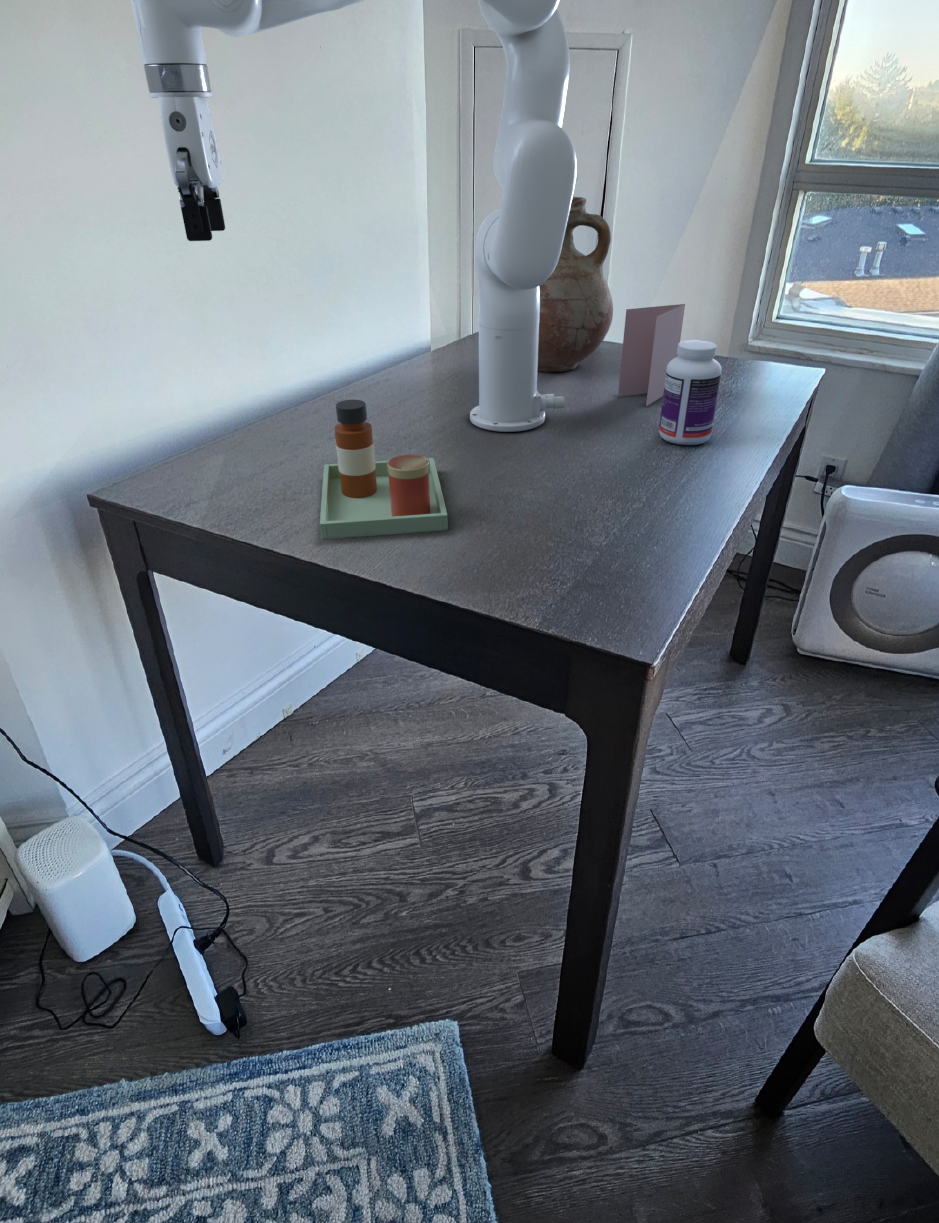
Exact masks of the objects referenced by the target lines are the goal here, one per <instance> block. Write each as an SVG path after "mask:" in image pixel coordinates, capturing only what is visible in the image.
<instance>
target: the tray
mask: <svg viewBox="0 0 939 1223" xmlns="http://www.w3.org/2000/svg"><path fill="white" fill-rule="evenodd" d="M426 458H427V459H428V461H429V491H430V514H422V515H407V516H393V517H392V514H391V501H390V488H389V475H388V467H387V462H388V461H389V460H375V466H376V468H375V471H376V482H377V491H376V493H375V494H373V495H371V496H368V497H364V498H350V497H347V496H345V495H343V494H342V490H341V481H340V473H339V467H338V463H327V464H323V471H322V474H323V475H322V487H321V488H322V489H321V502H320V515H319V516H320V517H319V530H320V536H321V540H327V539H329V540H330V539H342V538H354V537H355V538H356V537H369V536H370V537H371V536H383V535H385V536H386V535H398V534H410V533H426V532H439V531H448V530H449V524H448V520H449V519H448V518H449V517H448V512H447V507H446V504H445V499H444V495H443V491H442V487H441V483H440V478H439V474H438V471H437V470H438V469H437V467H436V466H437V465H436V462H435V458H434V457H426Z"/></svg>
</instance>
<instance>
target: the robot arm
mask: <svg viewBox="0 0 939 1223" xmlns="http://www.w3.org/2000/svg"><path fill="white" fill-rule="evenodd" d="M129 1H130V5H131V10H132V16H133V20H134V25H135V30H136V34H137V39H138V43H139V49H140V53H141V59H142V64H143V69H144V74H145V80H146V84H147V88H148V92H149V94H148V95H149V98H150V99H158V105H159V113H160V120H161V126H162V132H163V138H164V143H165V149H166V155H167V159H168V164H169V168H170V172H171V176H172V181H173V183H174V185H175V186H176V187H177V190H178V198H179V204H180V210H181V216H182V220H183V225H184V230H185V235H186V240H187V241H188V242H208V241H209V242H210V241H212V240H213V232H223V231H225V230H226V224H225V218H224V211H223V207H222V200H221V198H220V192H219V188H218V186H220V185H221V184H223V182H224V180H225V177H224V170H223V166H222V162H221V161H222V160H221V156H220V152H219V147H218V141H217V136H216V132H215V127H214V122H213V118H212V114H211V111H210V107H209V103H208V100H207V98H213V92H212V85H211V80H210V73H209V68H208V62H207V56H206V55H207V54H206V49H205V43H204V38H203V31H202V28H211V29H216V30H218V31H220V32H221V33H223V34H225V35H227V36H229V37H235V38H239V37H246V36H250V35H253V34H257V33H261V32H264V31H267V30H270V29H274V28H277V27H280V26H283V25H286V24H289V23H293V22H297V21H299V20H302V19H305V18H308V17H311V16H315V15H318V14H322V13H328V12H332V11H333V12H334V11H336V10H341V9H343V8H346V7H348V6H352V5H355V4H358V3H362V2H364V1H366V0H129ZM560 1H561V0H477V3H478V4H477V5H478V8H479V11H480V14H481V15H482V18H483V20H484V21H485V23H486V24H487V26H488V27H489V28H490V29H491V30H492V31H493V32H494V33H495V34H496V36H497V37H498V39H499V41H500V43H501V45H502V49H503V52H504V58H505V67H506V68H505V69H506V70H505V81H504V91H503V92H504V93H503V100H502V106H501V113H500V119H499V123H498V124H499V125H498V131H497V137H496V141H495V146H494V152H493V158H492V168H493V174H494V177H495V180H496V182H497V184H498V185H499V187H500V188H501V189H502V190H503V192H502V198H501V205H500V208H497V209H496V210H493V211H492V212H490V213H489V214H488V215H487V216H486V217H485V218H484V220H482V222H481V224H480V226H479V228H478V230H477V233H476V238H475V246H474V256H475V257H474V258H475V259H474V260H475V268H476V281H477V294H478V296H477V299H478V405H477V406H475V407H473V408H472V409H471V410H470V412H469V420H470V423H471V424H473V426H475V427H478V428H479V429H482V430H486V431H491V432H500V433H502V432H503V433H514V432H516V433H517V432H524V431H528V430H533V429H535V428H537V427H540V426H541V425H542V424H544V423H545V420H546V411H547V410H548V409H553V410H556V409H557V410H558V409H565V406H566V400H565V396H564V395H563V396H555V394H554V393H545V394H540V392H539V391H538V370H537V367H538V340H539V319H540V292H539V286H540V285H541V284H543V283H544V282H545V281H546V280H547V279H548V278H549V277H550V276H551V274H552V273H553V271H554V269H555V267H556V265H557V262H558V260H559V256H560V253H561V249H562V245H563V240H564V235H565V230H566V226H567V221H568V216H569V211H570V206H571V202H572V197H574V193H575V192H574V191H575V186H576V180H577V173H578V172H577V169H578V168H577V166H578V165H577V164H578V163H577V153H576V149H575V145H574V142H573V140H572V139H571V136H570V135H569V134H568V133H567V131H566V130H565V129H564V128H563V120H564V114H565V108H566V100H567V95H568V94H567V93H568V87H569V81H570V80H569V79H570V70H571V55H570V54H571V53H570V45H569V40H568V35H567V31H566V30H565V26H564V23H563V20H562V17H561V15H560V13H559V10H558V6H559V4H560Z"/></svg>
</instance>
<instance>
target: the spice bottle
mask: <svg viewBox="0 0 939 1223" xmlns="http://www.w3.org/2000/svg"><path fill="white" fill-rule="evenodd" d="M335 411H336V420H337V422H338V423H337V424H336V425H335V426H334V436H335V437H334V438H335V448H336V456H337V458H336V459H337V464H338V467H339V473H340V481H341V490H342V494H343V495H345V496H347V497H350V498H364V497H368V496H371V495H373V494H375V493H376V491H377V482H376V471H375V468H376V466H375V461H376V456H375V445H374V444H375V443H374V438H373V427H372V424H371V423H369V422H368V421H367V420H368V413H367V404H366V402H365V400H361V399H344V400H341V401H338V402H336V404H335Z"/></svg>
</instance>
